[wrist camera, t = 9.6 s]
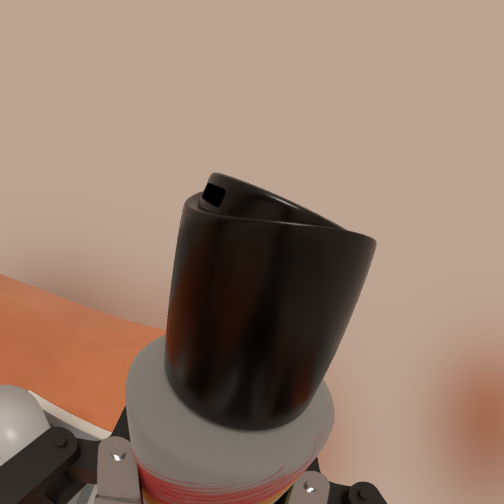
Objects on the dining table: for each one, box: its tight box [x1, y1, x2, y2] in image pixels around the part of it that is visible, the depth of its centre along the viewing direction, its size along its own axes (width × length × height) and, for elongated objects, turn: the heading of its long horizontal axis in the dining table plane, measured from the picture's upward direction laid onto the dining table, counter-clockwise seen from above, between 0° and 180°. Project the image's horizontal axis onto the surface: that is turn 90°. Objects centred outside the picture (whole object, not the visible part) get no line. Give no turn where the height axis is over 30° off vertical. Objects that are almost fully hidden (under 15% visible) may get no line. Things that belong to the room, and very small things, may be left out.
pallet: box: [0, 385, 145, 504], centre depth 11 cm, size 25×15×10 cm, turn 89°
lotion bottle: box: [126, 173, 376, 504], centre depth 8 cm, size 6×6×20 cm
